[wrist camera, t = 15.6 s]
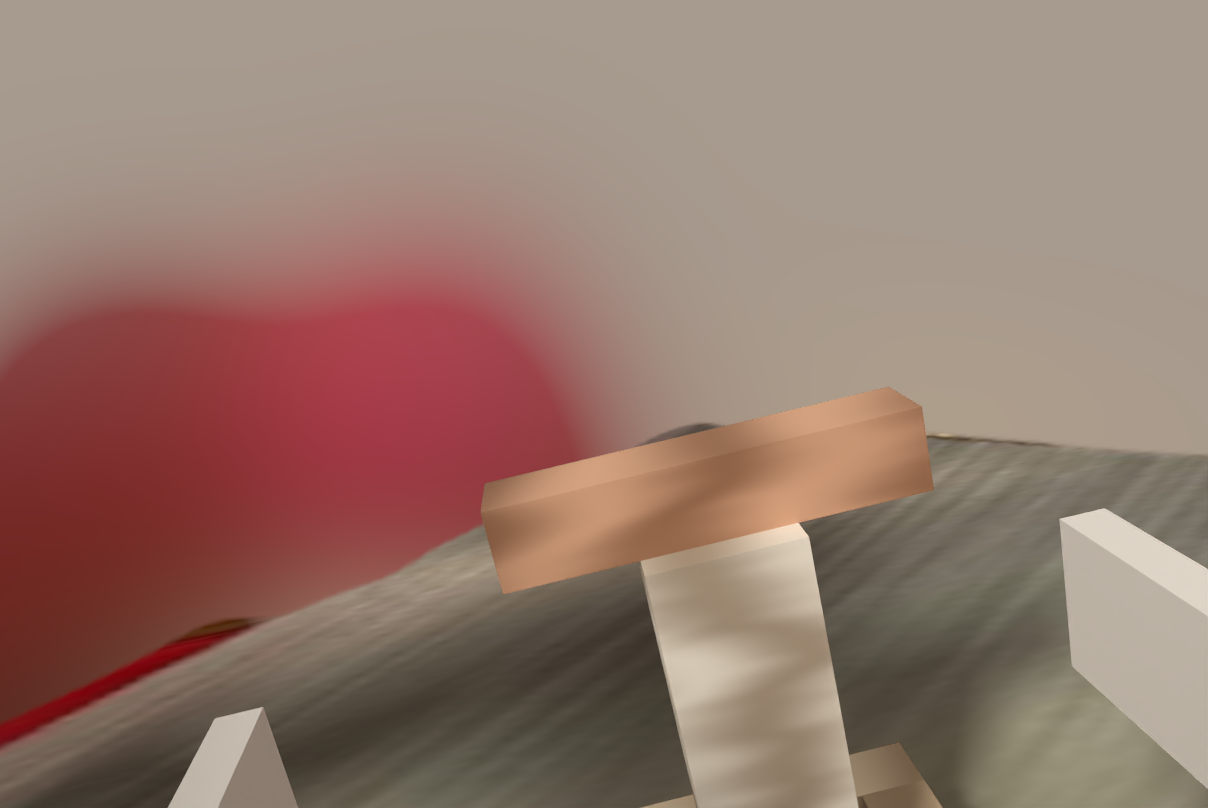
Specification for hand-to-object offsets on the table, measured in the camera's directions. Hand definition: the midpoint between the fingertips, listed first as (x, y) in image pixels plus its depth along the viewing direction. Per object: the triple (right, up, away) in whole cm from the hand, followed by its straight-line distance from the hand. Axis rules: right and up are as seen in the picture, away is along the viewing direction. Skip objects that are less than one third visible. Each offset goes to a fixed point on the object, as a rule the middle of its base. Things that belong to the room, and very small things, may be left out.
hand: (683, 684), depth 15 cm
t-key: (+6, -15, +16) cm, 22 cm away
